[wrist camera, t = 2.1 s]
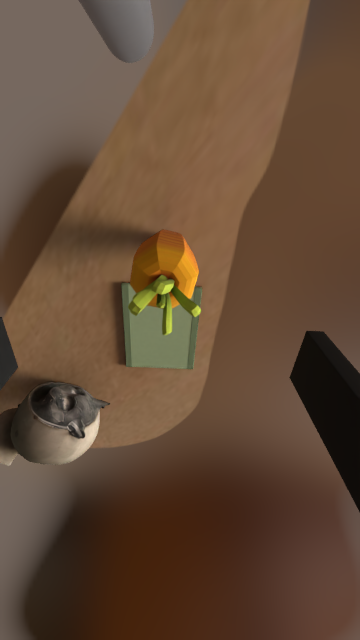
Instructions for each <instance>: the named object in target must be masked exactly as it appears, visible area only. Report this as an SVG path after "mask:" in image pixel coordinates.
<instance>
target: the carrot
mask: <svg viewBox="0 0 360 640" xmlns="http://www.w3.org/2000/svg"><path fill="white" fill-rule="evenodd" d="M198 274H199V270H198V266H197V262H196V260H195V257H194V254H193V253H192V251H191V249H190V248H189V246H188V244H187V243H186V241H185V239H184V238H183V236H182V235H181V234H179V233H176V232H172V231H168V230H164V229H163V230H161V231H159V232H158V233H156V234H155V235H153V236H152V237H150V238H149V239H147V240H146V241H144V242H143V243H142V244H141V245H140V247H139V248H138V250H137V252H136V254H135V255H134V260H133V266H132V273H131V279H130V285H131V287H132V288H133V290H134V291H135V292H136V294H135V295H134V296H133V300H132V301H131V302H130V304H129V305H128V309H129V310H130V312H131V313H132V314H134V315H135V316H137V315H138V314H139V313H140V312H141V311H142V310H143V309H144V308H145V307H146V306H147V305H148V306H152V307H157V308H160V309H163V318H162V334H163V335H168V334H170V333H171V332H172V308H174V307H176V306H178V305H181V306H182V307H183V308H184V309H185V310H186V311H187V312H188V313H189V314H190V315H192V316H194V317H196V316H198V315H199V314H200V312H201V309H200V308H199V306H198V305H197V304H195V303H194V302H193V301H191V300H190V299H191V297H192V294H193V291H194V287H195V284H196V281H197V277H198Z"/></svg>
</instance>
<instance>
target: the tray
mask: <svg viewBox="0 0 360 640" xmlns="http://www.w3.org/2000/svg"><path fill="white" fill-rule="evenodd" d="M121 287H122V304H123V320H124V337H125V354H126V367H153V368H179V369H193V366H194V357H195V348H196V339H197V330H198V321H199V315H198V316H196V317H194V316H192V315H190V314H189V313H188V312H187V311H186V310H185V309H184V308H183V307H182V306H181V305H178V306H176V307H174V308H172V332H171V333H170V334H168V335H163V334H162V318H163V309H160V308H157V307H152V306H148V305H147V306H146V307H145V308H144V309H143V310H142V311H141V312H140V313H139V314H138V315H137V316H135V315H134V314H132V313H131V312H130V310H129V309H128V305H129V304H130V302H131V301H132V300H133V296H134V295H135V294H136V292H135V291H134V290H133V288H132V287H131V285H130V283H122V284H121ZM201 294H202V287H198V286H195V287H194V291H193V294H192V297H191V299H190V300H191V301H193V302H194V303H195V304H197V305H198V306H199V308H200V303H201Z"/></svg>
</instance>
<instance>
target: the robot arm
mask: <svg viewBox="0 0 360 640" xmlns="http://www.w3.org/2000/svg"><path fill="white" fill-rule="evenodd" d="M17 368H18V365H17V362H16V359H15V356H14V353H13V350H12V347H11V344H10V341H9V338H8V335H7V332H6V329H5V326H4V323H3V320H2V317H0V390H1V389H2V387H3V386H4V385H5V384H6V382H7V381H8V380H9V378H10V377H11V376H12V374H13V373H14V372H15V371H16V369H17ZM290 379H291V381H292V383H293V385H294V387H295V389H296V391H297V392H298V395H299V397H300V398H301V400H302V402H303V404H304V406H305V408H306V410H307V412H308V414H309V416H310V418H311V420H312V421H313V423H314V425H315V427H316V429H317V431H318V433H319V435H320V437H321V439H322V440H323V443H324V444H325V446H326V448H327V450H328V452H329V454H330V456H331V458H332V460H333V462H334V464H335V465H336V468H337V469H338V471H339V473H340V475H341V477H342V479H343V481H344V483H345V485H346V487H347V489H348V490H349V492H350V494H351V496H352V498H353V500H354V502H355V504H356V506H357V508H358V510H359V512H360V373H359V372H358V371H357V370H356V369H355V368H354V367H353V365H352V364H351V363H350V362H349V361H348V360H347V358H346V357H345V356H344V355H343V354H342V353H341V351H340V350H339V349H338V348H337V347H336V346H335V344H334V343H333V342H332V341H331V340H330V339H329V338H328V336H327V335H326V334H325V333H324V332H320V331H306V334H305V337H304V339H303V342H302V345H301V348H300V351H299V353H298V356H297V359H296V362H295V364H294V367H293V370H292V373H291V375H290Z"/></svg>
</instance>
